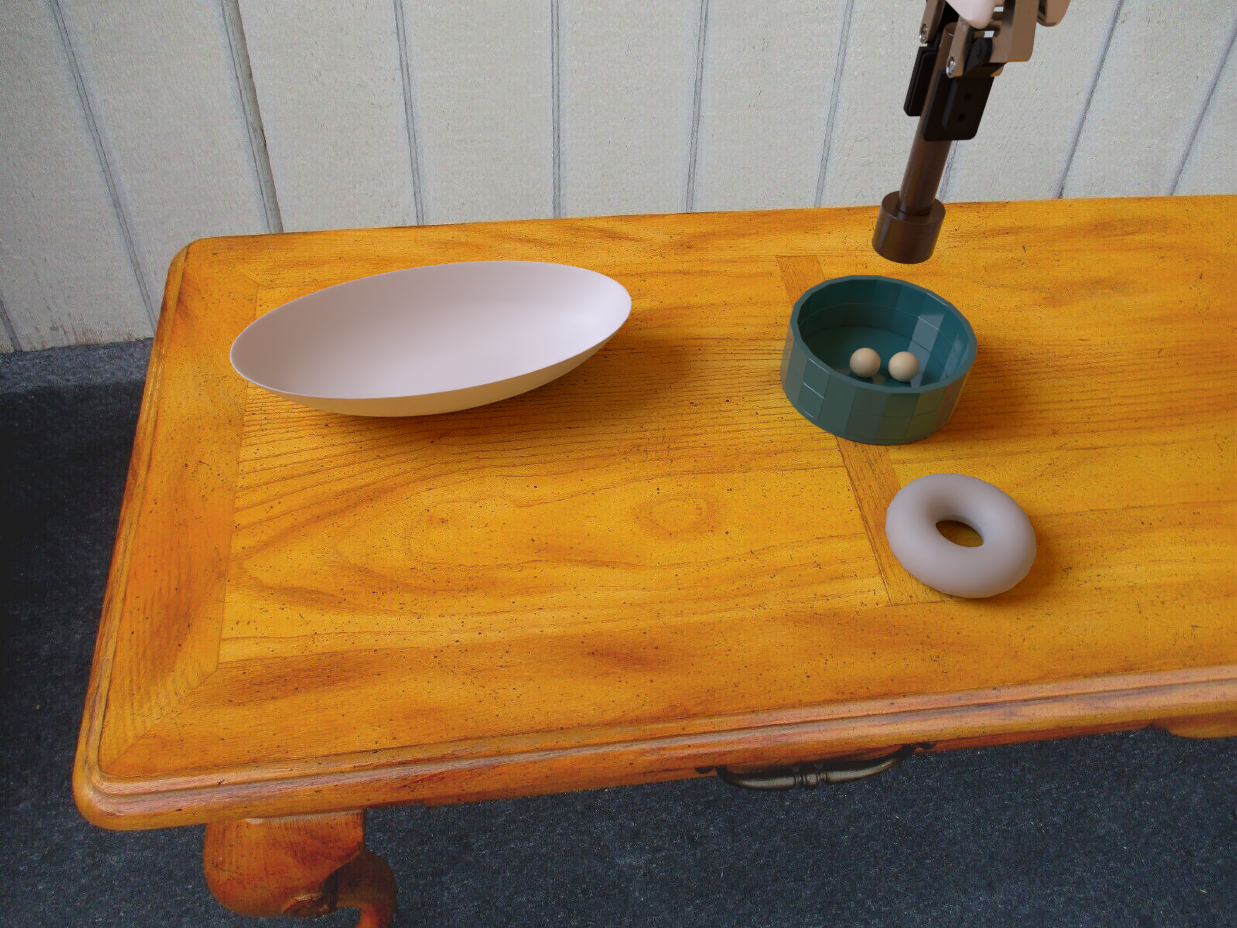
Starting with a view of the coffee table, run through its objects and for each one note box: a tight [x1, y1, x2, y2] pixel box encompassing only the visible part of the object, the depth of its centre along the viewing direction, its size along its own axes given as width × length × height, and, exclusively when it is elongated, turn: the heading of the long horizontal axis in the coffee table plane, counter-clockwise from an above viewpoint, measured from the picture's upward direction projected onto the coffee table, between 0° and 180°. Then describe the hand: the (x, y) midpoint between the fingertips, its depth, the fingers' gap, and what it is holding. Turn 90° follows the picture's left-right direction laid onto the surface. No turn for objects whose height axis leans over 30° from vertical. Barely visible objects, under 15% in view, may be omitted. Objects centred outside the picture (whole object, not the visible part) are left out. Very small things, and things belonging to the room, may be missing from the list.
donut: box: [884, 472, 1037, 599], centre depth 65 cm, size 10×4×10 cm
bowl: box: [229, 260, 633, 418], centre depth 74 cm, size 30×15×6 cm, turn 106°
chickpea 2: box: [888, 352, 920, 382], centre depth 76 cm, size 2×2×2 cm
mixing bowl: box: [779, 274, 978, 446], centre depth 76 cm, size 14×14×6 cm
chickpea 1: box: [850, 348, 881, 378], centre depth 76 cm, size 2×2×2 cm
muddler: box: [871, 22, 986, 265], centre depth 57 cm, size 4×4×14 cm
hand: (938, 123), depth 56 cm, fingers closed on muddler, 2 cm apart
